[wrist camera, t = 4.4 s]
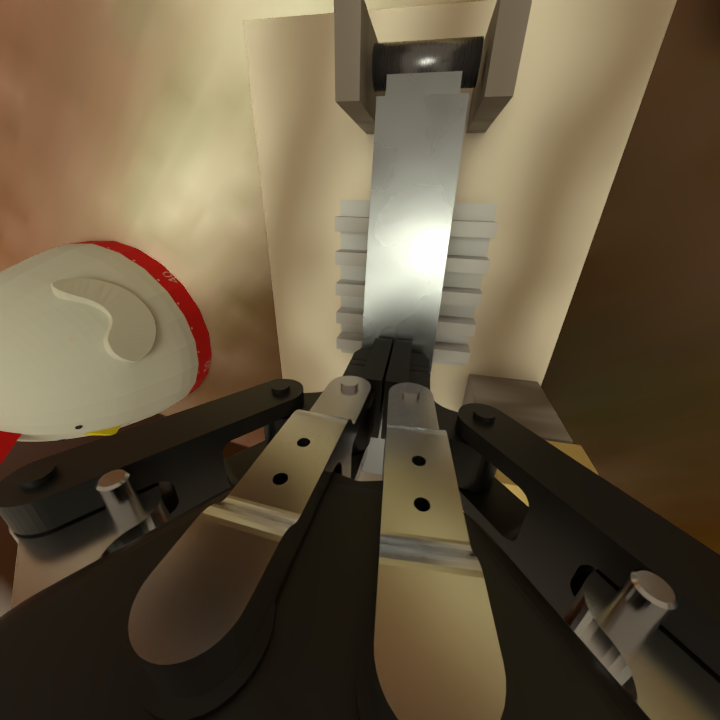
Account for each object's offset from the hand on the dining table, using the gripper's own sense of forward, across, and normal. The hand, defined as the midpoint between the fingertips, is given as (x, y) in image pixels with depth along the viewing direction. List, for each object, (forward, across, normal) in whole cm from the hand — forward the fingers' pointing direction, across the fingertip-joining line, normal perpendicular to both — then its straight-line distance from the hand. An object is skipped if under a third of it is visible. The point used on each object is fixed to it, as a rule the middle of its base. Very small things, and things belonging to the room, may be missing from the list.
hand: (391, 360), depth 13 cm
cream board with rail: (+8, 0, -2) cm, 8 cm away
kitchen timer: (+9, +22, +4) cm, 24 cm away
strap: (+1, 0, -2) cm, 3 cm away
